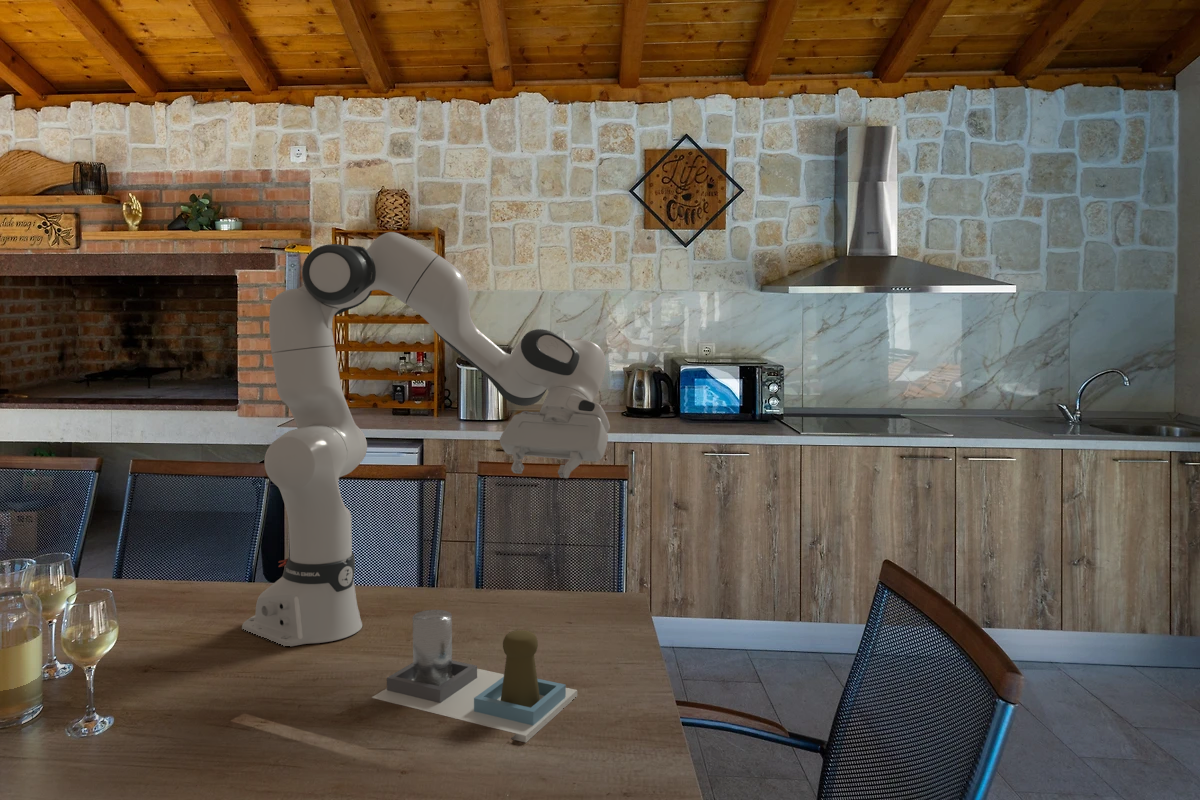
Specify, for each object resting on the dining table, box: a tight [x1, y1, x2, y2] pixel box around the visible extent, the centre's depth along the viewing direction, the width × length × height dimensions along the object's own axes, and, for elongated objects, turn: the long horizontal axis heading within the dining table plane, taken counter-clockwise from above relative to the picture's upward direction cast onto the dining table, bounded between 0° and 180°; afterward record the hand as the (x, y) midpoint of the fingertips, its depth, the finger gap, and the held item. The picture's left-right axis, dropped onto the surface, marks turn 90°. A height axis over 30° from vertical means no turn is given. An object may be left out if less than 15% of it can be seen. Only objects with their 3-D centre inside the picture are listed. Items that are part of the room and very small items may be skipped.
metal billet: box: [412, 609, 453, 686], centre depth 130 cm, size 6×6×11 cm
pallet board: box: [371, 659, 578, 743], centre depth 127 cm, size 27×16×3 cm, turn 65°
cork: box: [501, 629, 540, 708], centre depth 124 cm, size 6×6×11 cm
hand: (538, 473), depth 147 cm, fingers open, 8 cm apart
